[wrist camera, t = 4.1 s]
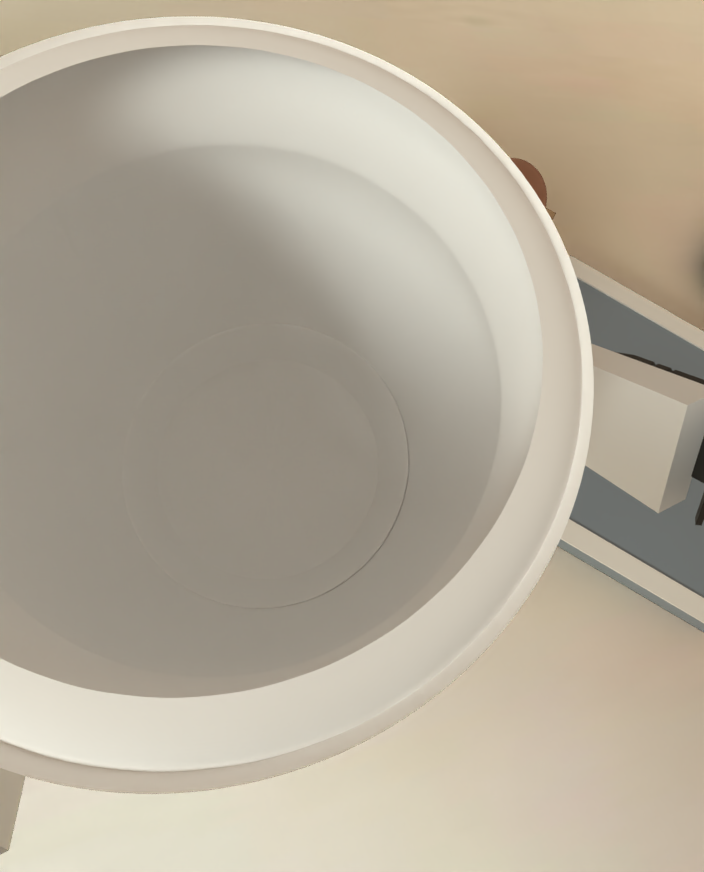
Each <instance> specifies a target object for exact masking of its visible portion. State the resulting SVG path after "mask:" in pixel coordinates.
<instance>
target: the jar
mask: <svg viewBox="0 0 704 872" xmlns="http://www.w3.org/2000/svg"><path fill="white" fill-rule="evenodd" d="M593 399H594V374H593V357H592V347H591V339H590V332H589V326H588V320H587V315H586V311H585V306H584V302H583V298H582V294H581V291H580V287H579V284H578V281H577V278H576V275H575V272H574V269H573V266H572V263H571V261H570V258H569V256H568V253H567V251H566V248H565V246H564V244H563V242H562V239H561V237H560V235H559V233H558V231H557V229H556V227H555V225H554V223H553V221H552V219H551V217H550V216H549V214H548V212H547V210H546V209H545V207H544V205H543V204H542V202H541V200H540V199H539V197H538V196H537V194H536V193H535V191H534V190H533V188H532V187H531V185H530V184H529V182H528V181H527V180H526V178H525V177H524V175H523V174H522V173H521V171H520V170H519V169H518V168H517V166H516V165H515V164H514V163H513V161H512V160H511V159H510V158H509V157H508V155H507V154H506V153H505V152H504V151H503V150H502V149H501V148H500V146H499V145H498V144H497V143H496V142H495V141H494V140H493V139H492V138H491V137H490V136H489V135H488V134H487V133H486V132H485V131H484V130H483V129H482V128H481V127H480V126H479V125H478V124H477V123H475V122H474V121H473V120H472V119H471V118H470V117H469V116H468V115H466V114H465V113H464V112H463V111H462V110H460V109H459V108H458V107H457V106H455V105H454V104H453V103H452V102H450V101H449V100H448V99H446V98H445V97H444V96H442V95H441V94H439V93H438V92H437V91H435V90H434V89H432V88H431V87H429V86H428V85H426V84H425V83H423V82H422V81H420V80H418V79H417V78H415V77H413V76H412V75H410V74H408V73H407V72H405V71H403V70H401V69H400V68H398V67H396V66H394V65H392V64H390V63H388V62H386V61H384V60H382V59H380V58H378V57H376V56H374V55H371V54H369V53H367V52H365V51H362V50H360V49H357V48H355V47H352V46H350V45H347V44H345V43H342V42H339V41H336V40H333V39H330V38H327V37H324V36H321V35H318V34H314V33H311V32H307V31H303V30H299V29H295V28H291V27H286V26H282V25H277V24H271V23H266V22H260V21H253V20H245V19H236V18H225V17H206V16H174V17H156V18H145V19H135V20H128V21H121V22H114V23H109V24H103V25H98V26H93V27H89V28H84V29H80V30H76V31H72V32H68V33H65V34H61V35H58V36H55V37H51V38H48V39H45V40H42V41H39V42H36V43H33V44H31V45H28V46H25V47H23V48H20V49H17V50H15V51H13V52H10V53H8V54H5V55H3V56H1V57H0V768H2V769H5V770H8V771H11V772H14V773H17V774H20V775H24V776H27V777H31V778H34V779H38V780H42V781H46V782H50V783H55V784H59V785H65V786H70V787H76V788H82V789H89V790H97V791H106V792H118V793H138V794H162V793H183V792H195V791H204V790H212V789H219V788H225V787H231V786H237V785H242V784H247V783H251V782H256V781H260V780H264V779H268V778H272V777H275V776H279V775H282V774H286V773H289V772H292V771H295V770H298V769H301V768H304V767H307V766H310V765H312V764H315V763H318V762H320V761H323V760H325V759H328V758H330V757H333V756H335V755H337V754H340V753H342V752H344V751H346V750H348V749H350V748H353V747H355V746H357V745H359V744H361V743H363V742H365V741H367V740H368V739H370V738H372V737H374V736H376V735H378V734H379V733H381V732H383V731H385V730H386V729H388V728H390V727H391V726H393V725H395V724H396V723H398V722H399V721H401V720H403V719H404V718H406V717H407V716H409V715H410V714H412V713H413V712H415V711H416V710H417V709H419V708H420V707H422V706H423V705H424V704H426V703H427V702H428V701H430V700H431V699H432V698H434V697H435V696H436V695H438V694H439V693H440V692H441V691H443V690H444V689H445V688H446V687H447V686H449V685H450V684H451V683H452V682H453V681H454V680H456V679H457V678H458V677H459V676H460V675H461V674H462V673H463V672H464V671H465V670H467V669H468V668H469V667H470V666H471V665H472V664H473V663H474V662H475V661H476V660H477V659H478V658H479V657H480V656H481V655H482V654H483V653H484V652H485V651H486V649H487V648H488V647H489V646H490V645H491V644H492V643H493V642H494V641H495V639H496V638H497V637H498V636H499V635H500V634H501V632H502V631H503V630H504V629H505V628H506V626H507V625H508V624H509V623H510V621H511V620H512V619H513V617H514V616H515V615H516V613H517V612H518V611H519V609H520V608H521V607H522V605H523V604H524V602H525V601H526V599H527V598H528V596H529V595H530V593H531V592H532V590H533V589H534V587H535V586H536V584H537V582H538V581H539V579H540V577H541V576H542V574H543V572H544V570H545V569H546V567H547V565H548V563H549V561H550V559H551V557H552V555H553V553H554V551H555V549H556V547H557V545H558V543H559V541H560V539H561V537H562V534H563V532H564V530H565V527H566V525H567V522H568V520H569V517H570V514H571V512H572V509H573V506H574V503H575V500H576V497H577V494H578V490H579V487H580V483H581V480H582V476H583V472H584V468H585V463H586V458H587V453H588V448H589V442H590V435H591V426H592V416H593Z"/></svg>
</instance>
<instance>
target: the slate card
mask: <svg viewBox="0 0 704 872" xmlns="http://www.w3.org/2000/svg"><path fill="white" fill-rule="evenodd" d="M569 258H570V261H571V263H572V266H573V269H574V272H575V275H576V278H577V281H578V284H579V287H580V291H581V294H582V298H583V302H584V306H585V311H586V315H587V320H588V326H589V332H590V339H591V344H594V345H597V346H599V347H602V348H605V349H607V350H610V351H613V352H619V353H625V354H632V355H636V356H639V357H642V358H644V359H647V360H650V361H653V362H655V364H656V365H657V364H661V365H664V366H667V367H670V368H671V369H672V370H673V371H674V370H678V371H681V372H684V373H686V374H689V375H692V376H695V377H698V378H700V379H703V380H704V331H702V330H700V329H698V328H697V327H695V326H693V325H691V324H690V323H688V322H686V321H684V320H683V319H681V318H679V317H677V316H676V315H674V314H672V313H670V312H669V311H667V310H665V309H663V308H662V307H660V306H658V305H657V304H655V303H653V302H651V301H650V300H648V299H646V298H644V297H643V296H641V295H639V294H637V293H636V292H634V291H632V290H630V289H629V288H627V287H625V286H623V285H622V284H620V283H618V282H616V281H615V280H613V279H611V278H609V277H608V276H606V275H604V274H602V273H601V272H599V271H597V270H595V269H594V268H592V267H590V266H588V265H587V264H585V263H583V262H581V261H580V260H578V259H576V258H575V257H573V256H571V255H570V256H569ZM703 493H704V483H702V482H700V481H698V480H696V479H695V478H693V477H692V479H691V483H690V486H689V489H688V492H687V495H686V498H685V500H683V501H681V502H679V503H677V504H675V505H673V506H671V507H669V508H667V509H666V510H664V511H662V512H660V513H657V512H655V511H654V510H652V509H651V508H649V507H648V506H646V505H645V504H643V503H642V502H640V501H639V500H637V499H636V498H634V497H633V496H631V495H630V494H628V493H627V492H625V491H624V490H622V489H620V488H619V487H617V486H616V485H614V484H613V483H611V482H610V481H608V480H607V479H605V478H604V477H602V476H601V475H599V474H598V473H596V472H595V471H593V470H592V469H590V468H589V467H587V466H585V468H584V472H583V476H582V480H581V483H580V487H579V490H578V494H577V497H576V500H575V503H574V506H573V509H572V512H571V514H570V517H569V520H568V522H567V525H566V527H565V530H564V532H563V534H562V537H561V539H560V541H559V543H558V545H557V546H558V547H560V548H562V549H564V550H565V551H567V552H569V553H570V554H572V555H574V556H575V557H577V558H579V559H580V560H582V561H584V562H586V563H587V564H589V565H591V566H592V567H594V568H596V569H597V570H599V571H601V572H603V573H604V574H606V575H608V576H609V577H611V578H613V579H614V580H616V581H618V582H619V583H621V584H623V585H625V586H626V587H628V588H630V589H631V590H633V591H635V592H636V593H638V594H640V595H642V596H643V597H645V598H647V599H648V600H650V601H652V602H653V603H655V604H657V605H658V606H660V607H662V608H664V609H665V610H667V611H669V612H670V613H672V614H674V615H675V616H677V617H679V618H681V619H682V620H684V621H686V622H687V623H689V624H691V625H692V626H694V627H696V628H698V629H699V630H701V631H703V632H704V520H703V523H702V526H701V525H695V516H696V513H697V510H698V508H699V505H700V502H701V499H702V496H703Z"/></svg>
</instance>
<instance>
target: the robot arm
mask: <svg viewBox="0 0 704 872" xmlns="http://www.w3.org/2000/svg"><path fill="white" fill-rule="evenodd" d="M591 347H592V357H593V374H594V399H593V416H592V426H591V435H590V442H589V448H588V453H587V458H586V463H585V466H587V467H589V468H590V469H592V470H593V471H595V472H596V473H598V474H599V475H601V476H602V477H604V478H605V479H607V480H608V481H610V482H611V483H613V484H614V485H616V486H617V487H619V488H620V489H622V490H624V491H625V492H627V493H628V494H630V495H631V496H633V497H634V498H636V499H637V500H639V501H640V502H642V503H643V504H645V505H646V506H648V507H649V508H651V509H652V510H654V511H655V512H657V513H660V512H662V511H664V510H666V509H667V508H669V507H671V506H673V505H675V504H677V503H679V502H681V501H683V500H685V498H686V495H687V492H688V489H689V486H690V483H691V479H692V477H693V478H695V479H696V480H698V481H700V482H702V483H704V380H703V379H700V378H698V377H695V376H692V375H689V374H686V373H684V372H681V371H678V370H674V371H673V370H672V369H671V368H670V367H667V366H664V365H661V364H657V365H656V364H655V362H653V361H650V360H647V359H644V358H642V357H639V356H636V355H632V354H625V353H619V352H613V351H610V350H607V349H605V348H602V347H599V346H597V345H594V344H591ZM703 520H704V493H703V496H702V499H701V502H700V505H699V508H698V510H697V513H696V516H695V525H701V526H702V523H703ZM24 780H25V776H24V775H20V774H17V773H14V772H11V771H8V770H5V769H2V768H0V854H2V853H4V852H6V851H8V850H9V847H10V843H11V838H12V834H13V829H14V825H15V821H16V816H17V812H18V807H19V803H20V798H21V794H22V789H23V785H24Z"/></svg>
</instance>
